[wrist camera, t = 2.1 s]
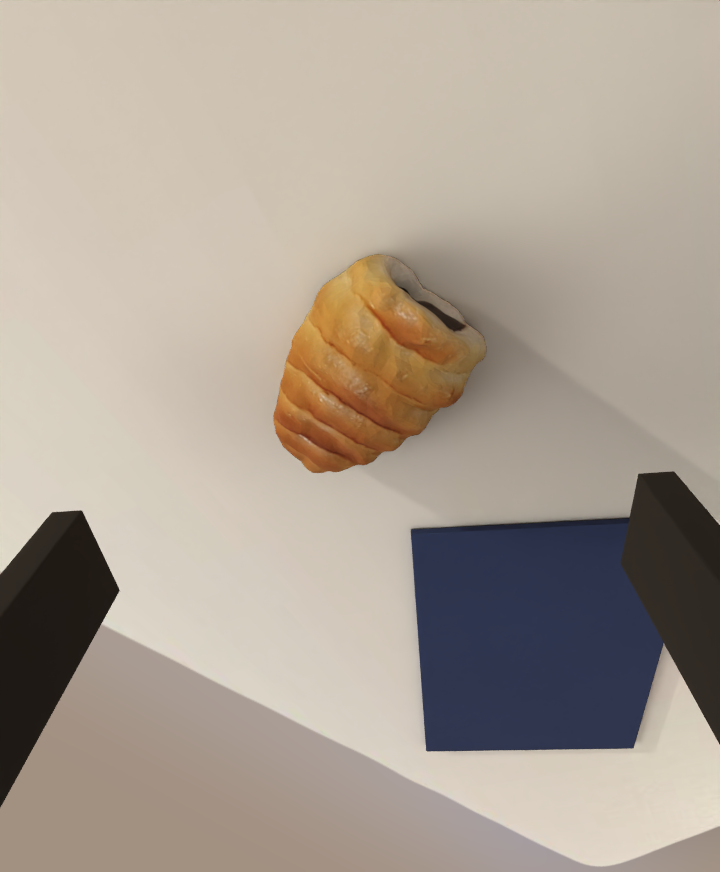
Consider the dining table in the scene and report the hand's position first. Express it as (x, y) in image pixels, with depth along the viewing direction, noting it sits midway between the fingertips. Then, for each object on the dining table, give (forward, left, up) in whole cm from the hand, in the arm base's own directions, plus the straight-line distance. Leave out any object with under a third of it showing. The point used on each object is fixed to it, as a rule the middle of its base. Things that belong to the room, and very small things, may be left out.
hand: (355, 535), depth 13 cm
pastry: (0, 0, -11) cm, 11 cm away
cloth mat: (-8, +20, -11) cm, 24 cm away
